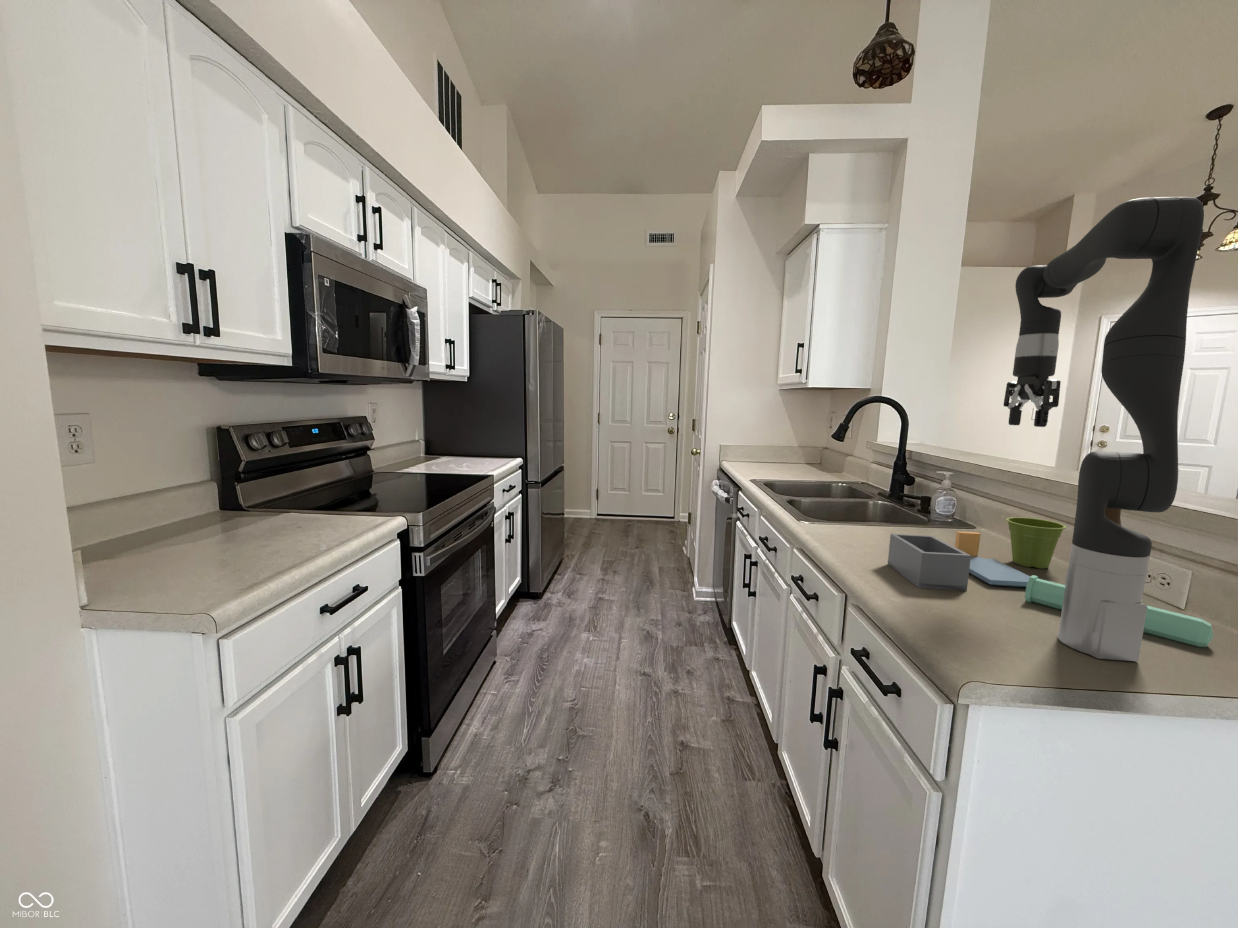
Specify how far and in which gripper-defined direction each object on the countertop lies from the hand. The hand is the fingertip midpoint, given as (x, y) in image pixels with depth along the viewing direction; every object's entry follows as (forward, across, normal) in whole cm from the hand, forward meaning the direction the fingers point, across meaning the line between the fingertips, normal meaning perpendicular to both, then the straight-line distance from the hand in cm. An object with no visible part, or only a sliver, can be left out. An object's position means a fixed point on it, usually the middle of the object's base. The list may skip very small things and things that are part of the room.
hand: (1026, 425), depth 115 cm
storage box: (+36, -6, +22) cm, 43 cm away
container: (+37, -26, -2) cm, 45 cm away
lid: (+36, -1, +5) cm, 37 cm away
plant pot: (+36, +9, -11) cm, 39 cm away
